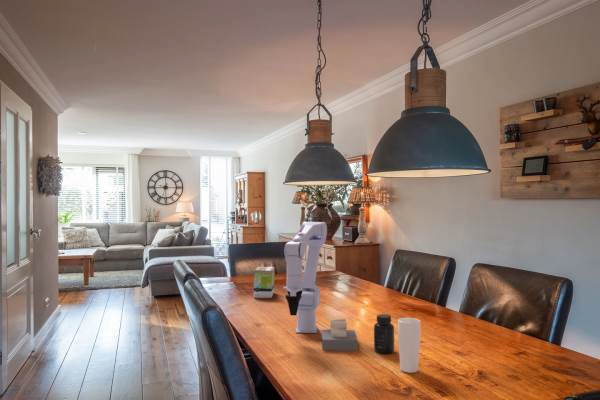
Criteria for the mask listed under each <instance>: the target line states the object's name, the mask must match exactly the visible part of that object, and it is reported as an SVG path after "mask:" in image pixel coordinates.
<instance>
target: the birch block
mask: <svg viewBox="0 0 600 400" xmlns="http://www.w3.org/2000/svg"><path fill="white" fill-rule="evenodd" d="M347 323H348V322H347V320H346V319H345V318H330V330H331V335H332V337H347V330H348V325H347Z"/></svg>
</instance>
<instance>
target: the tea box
mask: <svg viewBox="0 0 600 400" xmlns="http://www.w3.org/2000/svg"><path fill="white" fill-rule="evenodd" d="M275 268H276V267H275V266H256V268H255V269H254V272H253V274H254V275H253V276H254V277H253V298H255V299H256V298H257V299H259V298H260V299H272V297H273V296H274V293H275Z"/></svg>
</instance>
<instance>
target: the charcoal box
mask: <svg viewBox="0 0 600 400" xmlns="http://www.w3.org/2000/svg"><path fill="white" fill-rule="evenodd" d="M358 342H359V340H358V337H357V333H356V330H355V329H350V330H349V329H347V337H332V335H331V329H321V350H322V351H350V352H353V351H354V352H357V351H358V349H359V348H358V347H359V346H358Z"/></svg>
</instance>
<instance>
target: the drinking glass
mask: <svg viewBox="0 0 600 400" xmlns="http://www.w3.org/2000/svg"><path fill="white" fill-rule="evenodd" d="M421 325H422V324H421V320H420V319H418V318H415V317H400V318H398V319H397V341H398V355H399V356H398V357H399V369H400V371H402V372H404V373H406V374H413V373H414V374H415V373H417V372H418V371H419V357H420V348H421V335H422V334H421V333H422V329H421V327H422V326H421Z"/></svg>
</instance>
